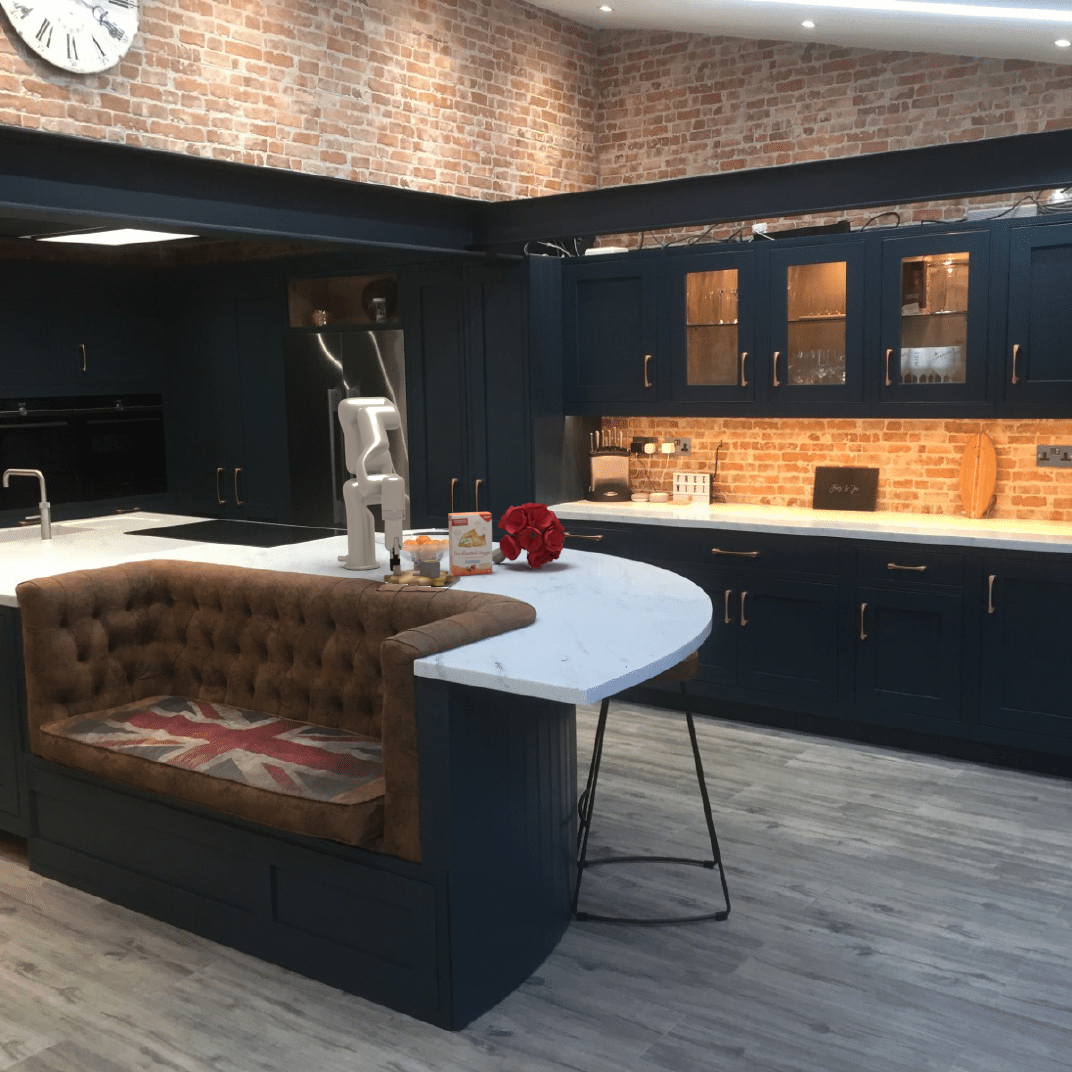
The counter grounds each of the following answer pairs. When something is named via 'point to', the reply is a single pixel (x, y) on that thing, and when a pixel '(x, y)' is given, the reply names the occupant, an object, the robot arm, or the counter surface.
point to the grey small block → (430, 569)
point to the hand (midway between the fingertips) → (395, 570)
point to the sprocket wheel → (416, 578)
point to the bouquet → (530, 535)
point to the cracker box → (470, 543)
